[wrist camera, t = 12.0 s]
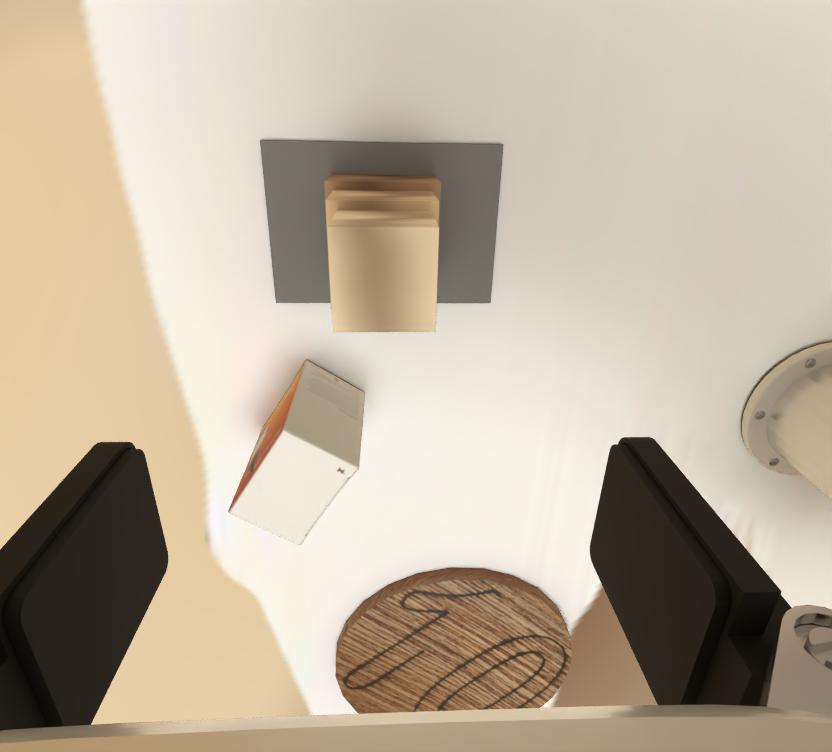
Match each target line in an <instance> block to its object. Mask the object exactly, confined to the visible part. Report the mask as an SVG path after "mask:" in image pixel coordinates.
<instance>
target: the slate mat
mask: <svg viewBox="0 0 832 752" xmlns="http://www.w3.org/2000/svg"><path fill="white" fill-rule="evenodd" d="M260 144H261V155H262V165H263V175H264V185H265V195H266V206H267V216H268V226H269V236H270V246H271V257H272V267H273V277H274V287H275V297H276V303H331V299H330V282H329V263H328V244H327V225H326V206H325V187H324V181H325V180H326V179H327V178H328V177H329V176H330V175H331V174H358V175H426V176H436V177H437V178H438V180H439V181H440V182H441V200H440V228H439V255H438V283H437V303H490V302H491V290H492V278H493V265H494V253H495V241H496V228H497V216H498V204H499V191H500V179H501V167H502V154H503V145H502V144H447V143H391V142H335V141H279V140H260Z"/></svg>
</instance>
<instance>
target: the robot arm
mask: <svg viewBox="0 0 832 752" xmlns="http://www.w3.org/2000/svg"><path fill="white" fill-rule="evenodd" d="M742 437H743V440H744V443H745V446H746V447H747V449H748V450H749V452H750V453H751V455H752V456H753V457H755V458H756V459H757V460H758V461H759V462H760V463H761V464H762V465H764V466H765V467H766V468H768V469H770V470H773V471H775V472H778V473H782V474H789V475H803V476H804V477H806V478H807V479H808V480H809V481H810V482H811V483H813V484H814V485H815V486H816V487H817V488H818V489H820V490H821V491H822V492H823V493H824V494H825V495H827V496H828V497H829V498H830V499H831V500H832V342H830V343H825V344H819V345H816V346H813V347H810V348H807V349H805V350H803V351H801V352H799V353H797V354H795V355H793V356H791V357H789V358H788V359H786V360H785V361H783V362H782V363H780V364H779V365H778V366H776V367H775V368H774V369H773V370H772V371H771V372H770V373H769V374H768V375H766V376H765V377H764V379H763V380H762V381H761V382H760V384H759V385H758V386H757V387H756V388H755V390H754V392H753V394H752V395H751V397H750V399H749V400H748V403H747V405H746V408H745V411H744V414H743V420H742ZM590 556H591V560H592V563H593V566H594V568H595V570H596V572H597V574H598V576H599V579H600V581H601V583H602V585H603V587H604V589H605V592H606V594H607V596H608V598H609V600H610V602H611V604H612V607H613V609H614V611H615V613H616V615H617V617H618V619H619V622H620V624H621V626H622V628H623V630H624V633H625V635H626V637H627V639H628V641H629V644H630V646H631V648H632V650H633V652H634V654H635V657H636V659H637V661H638V663H639V665H640V667H641V670H642V672H643V674H644V676H645V678H646V680H647V683H648V685H649V687H650V689H651V691H652V693H653V695H654V698H655V700H656V702H657V704H658V705H636V706H635V705H634V706H593V707H557V708H522V709H487V710H455V711H426V712H397V713H368V714H340V715H313V716H286V717H260V718H236V719H212V720H188V721H187V720H186V721H164V722H163V721H162V722H138V723H116V724H101V725H100V724H98V725H91V723H92V721H93V719H94V717H95V715H96V713H97V711H98V709H99V707H100V705H101V702H102V701H103V699H104V696H105V694H106V692H107V690H108V688H109V686H110V684H111V682H112V680H113V678H114V676H115V674H116V672H117V670H118V668H119V666H120V664H121V662H122V660H123V658H124V656H125V654H126V652H127V650H128V648H129V646H130V644H131V642H132V639H133V637H134V635H135V633H136V631H137V629H138V627H139V625H140V623H141V621H142V619H143V617H144V615H145V613H146V611H147V609H148V606H149V605H150V603H151V601H152V599H153V597H154V595H155V593H156V591H157V589H158V587H159V584H160V583H161V581H162V578H163V576H164V574H165V572H166V569H167V565H168V551H167V547H166V543H165V539H164V534H163V530H162V526H161V522H160V517H159V513H158V509H157V505H156V501H155V497H154V492H153V488H152V484H151V479H150V476H149V471H148V467H147V462H146V458H145V455H144V452H143V451H142V450H140V449H136V448H135V446H134V445H133V444H132V443H130V442H100V443H97V444H96V445H94V446H93V447H92V449H91V450H90V451H89V452H88V453H87V454H86V455H85V456H84V457H83V459H82V460H81V461H80V462H79V463H78V464H77V465H76V466H75V467H74V469H73V470H72V471H71V472H70V473H69V474H68V475H67V476H66V477H65V479H64V480H63V481H62V482H61V483H60V484H59V485H58V487H57V488H56V489H55V490H54V491H53V492H52V493H51V494H50V495H49V496H48V498H46V500H45V501H44V502H43V503H42V504H41V505H40V506H39V507H38V508H37V510H36V511H35V512H34V513H33V514H32V515H31V516H30V517H29V518H28V519H27V521H26V522H25V523H24V524H23V525H22V526H21V527H20V528H19V529H18V531H17V532H16V533H15V534H14V535H13V536H12V537H11V538H10V540H9V541H8V542H7V543H6V544H5V545H4V546H3V547H2V548H1V549H0V752H832V610H831V609H828V608H825V607H819V606H812V605H803V606H795V607H793V608H791V607H790V605H789V604H788V603H787V602H786V600H785V599H784V598H783V597H782V596H781V590H780V589H779V588H778V587H777V586H776V584H775V583H774V582H773V581H772V580H771V578H770V577H769V576H768V575H767V574H766V572H765V571H764V570H763V569H762V568H761V566H760V565H759V564H758V563H757V562H756V560H755V559H754V558H753V557H752V556H751V555H750V553H749V552H748V551H747V550H746V549H745V547H744V546H743V545H742V544H741V543H740V541H739V540H738V539H737V538H736V537H735V535H734V534H733V533H732V532H731V531H730V529H729V528H728V527H727V526H726V525H725V523H724V522H723V521H722V520H721V519H720V517H719V516H718V515H717V514H716V513H715V511H714V510H713V509H712V508H711V507H710V505H709V504H708V503H707V502H706V501H705V499H704V498H703V497H702V496H701V495H700V493H699V492H698V491H697V490H696V489H695V487H694V486H693V485H692V484H691V483H690V481H689V480H688V479H687V478H686V477H685V476H684V474H683V473H682V472H681V471H680V470H679V468H678V467H677V466H676V465H675V464H674V462H673V461H672V460H671V459H670V458H669V456H668V455H667V454H666V453H665V452H664V450H663V449H662V448H661V447H660V446H659V444H658V443H657V442H656V441H655V440H654V439H653V438H650V437H624V438H622V439H621V440H620V441H619V443H618V445H613V446H612V447H611V449H610V452H609V457H608V461H607V466H606V471H605V476H604V481H603V486H602V490H601V495H600V500H599V505H598V510H597V515H596V519H595V524H594V529H593V534H592V539H591V543H590Z"/></svg>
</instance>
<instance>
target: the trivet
mask: <svg viewBox="0 0 832 752" xmlns="http://www.w3.org/2000/svg"><path fill="white" fill-rule="evenodd" d="M571 659H572V653H571V640H570V635H569V632H568V629H567V627H566V624H565V622H564V620H563V618H562V616H561V614H560V612H559V610H558V608H557V606H556V605H555V604H554V603H553V602H552V601H551V600H550V599H549V598H548V597H547V596H546V595H545V594H544V593H543V592H542V591H541V590H539V589H538V588H537V587H535V586H533V585H531V584H529V583H527V582H525V581H523V580H521V579H519V578H517V577H515V576H513V575H509V574H504V573H500V572H496V571H492V570H487V569H483V568H446V569H440V570H434V571H428V572H423V573H417V574H415V575H412V576H410V577H407V578H404V579H402V580H399V581H397V582H394V583H392V584H389V585H387V586H386V587H384V588H383V589H381V590H380V591H378V592H377V593H375V594H374V595H372V596H371V597H369V598H368V599H366V600H365V601H363V602H362V604H361V605H360V606H359V607H358V608H357V609H356V611H355V612H354V613H353V614H352V615H351V616H350V617H349V619H348V620H347V621H346V623H345V625H344V628H343V630H342V633H341V635H340V637H339V640H338V642H337V653H336V679H337V681H338V684H339V686H340V689H341V692H342V694H343V696H344V698H345V699H346V700H347V701H348V702H349V703H350V705H351V706H352V707H353V708H354V709H355V710H356V712H357V713H359V714H368V713H397V712H426V711H455V710H487V709H522V708H540V707H541V706H543V705H544V704H545V703H546V702H547V701H549V700H550V699H551V698H552V697H553V696H554V694H555V693H556V691H557V690H558V689H559V687H560V686H561V684H562V683H563V682H564V680H565V679H566V676H567V673H568V669H569V666H570V663H571Z"/></svg>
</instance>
